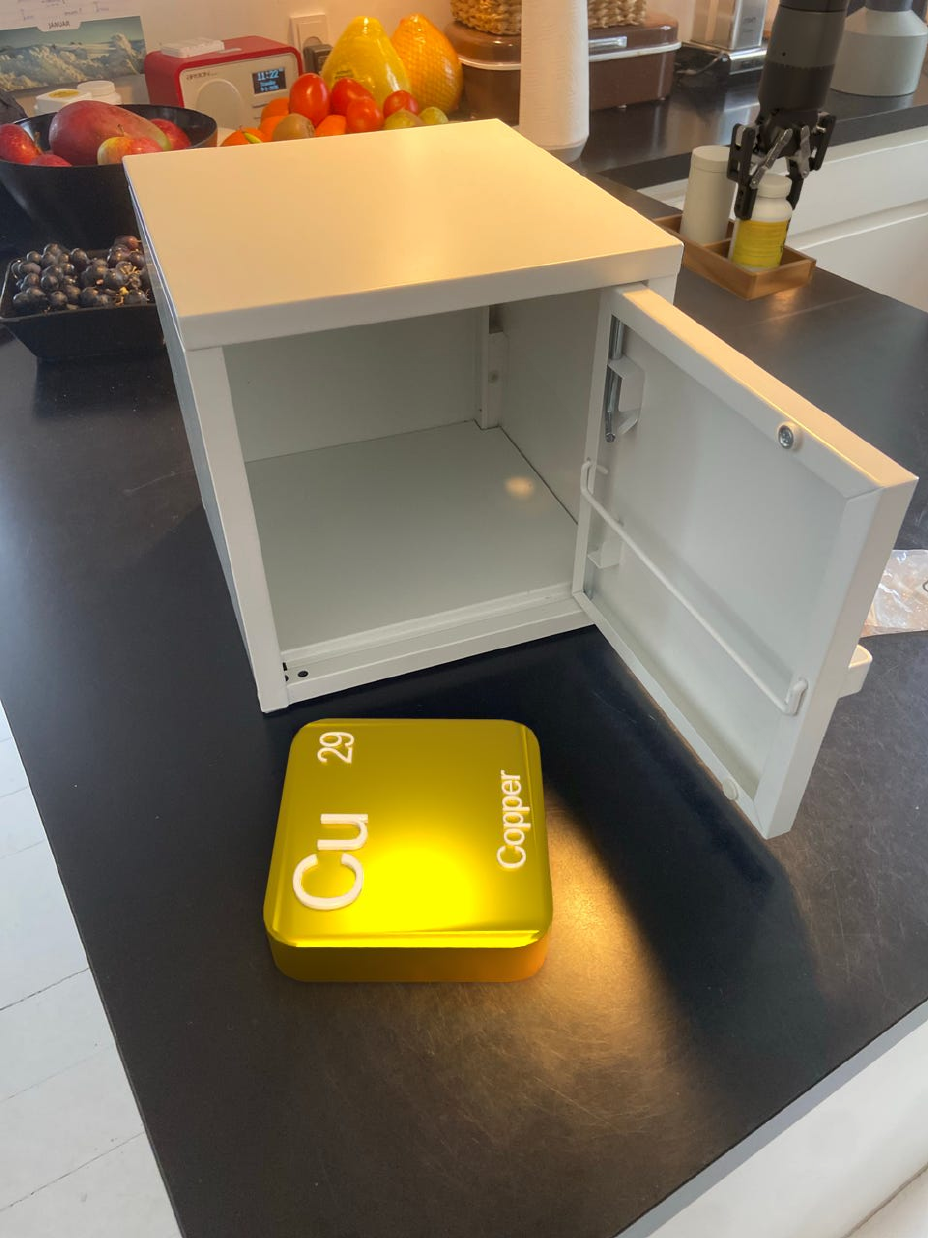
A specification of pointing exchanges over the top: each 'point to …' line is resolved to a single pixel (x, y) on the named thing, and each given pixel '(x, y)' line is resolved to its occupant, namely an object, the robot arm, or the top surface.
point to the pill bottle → (763, 226)
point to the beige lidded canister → (707, 196)
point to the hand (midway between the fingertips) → (764, 213)
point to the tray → (735, 278)
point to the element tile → (411, 853)
